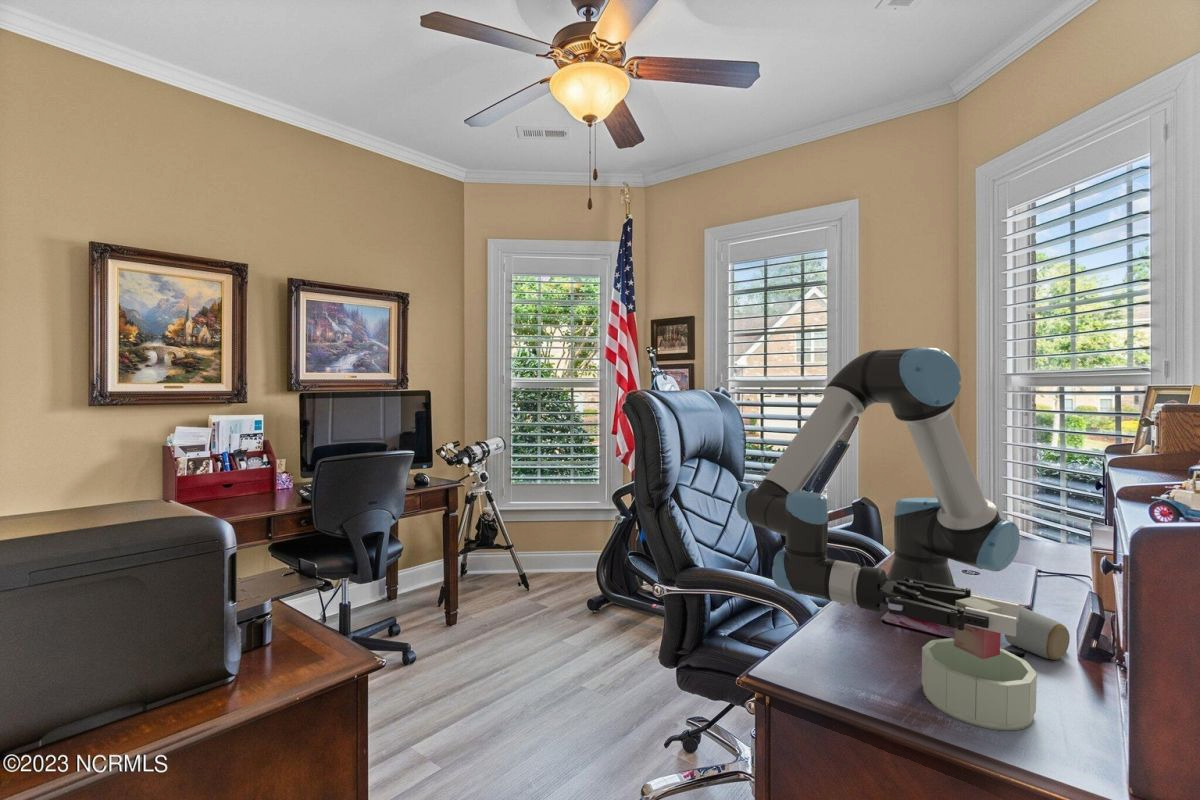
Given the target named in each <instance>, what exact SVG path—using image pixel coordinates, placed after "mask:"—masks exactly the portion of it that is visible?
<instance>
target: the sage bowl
mask: <svg viewBox="0 0 1200 800" xmlns="http://www.w3.org/2000/svg"><path fill="white" fill-rule="evenodd" d="M1037 676H1038V675H1037V672H1036V671H1035V669H1034V668H1033V667H1032V666H1031V665H1030V663H1029V662H1028V661H1027V660H1025V659H1024V658H1022V657H1019V656H1017V655H1016V654H1014V653H1011V651H1010V652H1009V651H1008V650H1006V649H1003V648H1000V655H997V656H994V657H990V658H986V659H981V658H979V657H976V656H974V655H972V654H970V653H968V652H966V651H964V650H961V649H959V648H957V647H955V646H954V638H951V637H950V638H939V639H931V640H930V641H928V642H926V643H925V645H923V646H922V648H921V684H922V692H923V695H924V697H925V696H926V697H925V698H926V700H927V699H928V700H929V701H930V702H931V703H932V704H933V705H932V704H931V703H930V702H929V701H928V700H927V701H928V702H929V703H930V704H931V705H932V706H934V707H935V708H936V709H938V710H939V711H941V712H943V713H944V714H946V715H948V716H949V717H951V718H954V719H957V720H958V721H961V722H963V723H967V724H970V725H973V726H976V727H980V728H984V729H989V730H995V731H996V730H997V731H1010V732H1011V731H1012V732H1013V731H1019V730H1023V729H1026V728H1028V727H1031V725H1032V724H1033V723H1034V716H1035V714H1036V712H1037V683H1038V682H1037V680H1038V679H1037V678H1038V677H1037Z"/></svg>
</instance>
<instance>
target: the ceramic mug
mask: <svg viewBox="0 0 1200 800" xmlns="http://www.w3.org/2000/svg"><path fill="white" fill-rule="evenodd" d="M1003 636H1004V638H1005V640H1006V642H1007V644H1010V645H1012V646H1014V647H1016V646H1017V647H1016V648H1019V649H1021V648H1022V650H1024V651H1027V652H1028V653H1031V654H1035V655H1036V656H1040V657H1042V658H1044V659H1048V660H1051V661H1056V660H1060V659H1061V658H1063V657H1064V656H1065V654H1066V652H1067V651H1068V648H1069V645H1070V639H1071V637H1070V632H1069V630H1068V628H1067V627H1066V626H1065V625H1064V624H1063V623H1060V622H1059V621H1057V620H1055V619H1052V618H1051V617H1047V616H1045V615H1042V614H1040V613H1037V612H1035V611H1033V610H1031V609H1028V608H1025V607H1023V606H1019V617H1018V622H1016V637H1015V636H1011V635H1006V634H1003Z"/></svg>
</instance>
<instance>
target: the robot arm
mask: <svg viewBox="0 0 1200 800" xmlns="http://www.w3.org/2000/svg"><path fill="white" fill-rule="evenodd" d="M961 381H962V376H961V372H960V368H959V366H958V363H957V362H956V361H955V359H954V358H953V357H952V356H951V354H949V353H948V352H947V351H945V350H943V349H940V348H936V347H923V346H921V347H920V346H917V347H912V348H900V349H899V348H897V349H876V350H870V351H867V352H864V353H862V354H861V355H859V356H856V357H855V358H854V359H852V360H851V361H849V362H848V363H847V364H846V365H845V366H844V367H843V368H841V370H840V371H838V373H836V375H835V376H834V377H833V378H832V379H831V380H830V381H829V383H828V384H827V385H826V387H825V388H824V389H823V391H822V394H823V398H822V399H821V401H820V402H819V403H818V405H817V406H816V407H815V409H814V410H813V412H812V413H811V415H809V417H808V418H807V420H806V421H805V422H804V424H803V425H802V427H801V428H800V430H799V431H798V432H797V434H796V435H794V437H793V438H792V440H791V442H790V443H789V444H788V446H787V447H786V448H785V450H784V451H783V452H782V454H781V455H780V456H779V458H778V459H777V461H775V463H774V464H773V466H772V467H771V468H770V470H769V471H768V473H767V474H766V476H764V478H763V479H762V481H761V482H760V484H758V486H757V487H750V488H746V489H745V490H742V491H741V492H740V494H739V495H738V497H737V500H736V510H737V513H738V515H739V517H740V518H741V519H742V520H744V521H745V522H748V523H750V524H752V525H753V526H754V527H760V528H763V529H764V530H765V529H766V530H769V531H770V532H774V533H777V534H778V535H781V536H784V537H785V549H781V550H779V551H778V552H777V553H776V554H775V556H774V559H773V565H772V567H771V568H772V569H771V572H772V573H771V574H772V580H773V582H774V584H775V585H776V586H777V588H779V589H783V590H785V591H789V592H792V593H794V594H797V595H804V596H808V597H813V598H818V599H821V600H827V601H830V602H835V603H840V604H839V605H840V606H841V607H845V606H846V605H847V606H851V607H855V606H857V605H858V607H859V608H860V609H863V610H867V611H871V612H876V613H880V612H882V611H883V609H884V608H885V605H886V606H887V608H888V609H887V613H889V614H891V615H897V616H904V617H908V618H912V619H915V620H916V619H917V620H919V621H924V622H927V623H932V624H934V625H935V624H936V625H939V626H942V627H943V626H944V627H947V628H951V629H955V628H957V625H958V630H964V623H965V625H967V626H971V627H976V628H980V629H984V630H989V631H993V632H997V633H1001V635H1002V634H1003V635H1004V634H1006V635H1011V636H1015V637H1016V622H1018V617H1019V607H1020V604H1019V603H1015V602H1010V601H1005V600H1000V599H995V598H990V597H984V596H979V595H976V594H971V593H972V590H971V588H968V587H966V588H964V587H963V588H962V587H957V586H956V584H955V582H954V579H953V574H952V571H951V568H950V566H949V560H952V561H955V562H958V563H961V564H963V565H967V566H969V567H974V568H976V569H979V570H987V571H990V572H1001V571H1003V570H1005V569H1006V568H1007V567H1009V566H1010V565H1011V564H1012V563H1013V561H1014V560H1015V557H1016V556H1017V554H1018V550H1019V547H1020V543H1021V533H1020V529H1019V527H1018V526H1017V524H1016V523H1015V522H1014V521H1012V520H1010V519H1008V518H1007V519H1006V518H1005V519H1003V518H1002V517H1001V516H1000V514H999V512H998V509H997V506H996V505H995V503H994V502H992V501H991V500H990V499H987V498H985V496H984V494H983V492H982V489H981V487H980V484H979V481H978V479H977V476H976V473H975V471H974V468H973V466H972V464H971V463H972V462H971V459H970V457H969V455H968V452H967V450H966V447H965V445H964V442H963V440H962V437H961V434H960V431H959V429H958V426H957V424H956V422H955V418H954V416H953V413H952V410H953V407H955V404H956V401H957V400H956V399H957V398H958V395H959V394H960V390H961V387H962V385H961V384H960V382H961ZM876 403H877V404H879V403H881V404H889V405H890V406H891V409H892V412H893V414H894V416H895V418H896V419H897V420H898V421H900V422H903V423H906V426H907V429H908V431H909V432H910V435H911V438H912V440H913V442H914V445H915V448H916V449H917V452H918V455H919V458H920V460H921V462H922V465H923V467H924V469H925V472H926V475H927V478H928V479H929V483H930V485H931V486H932V489H933V491H934V494H935V496H936V497H908V498H907V497H906V498H900V499H899V500H898V501H897V502H896V503H895V509H894V514H893V519H894V525H893V527H894V529H893V532H894V534H893V535H894V539H893V540H894V542H893V543H894V546H893V548H894V549H893V551H894V554H893V559H892V561H891V564H890V568H889V570H888V571H889V572H888V573H886V571H885V570H884V569H882V568H878V567H873V566H868V565H864V566H861V565H860V564H859V563H854V562H850V561H849V562H848V561H843V560H836V559H832V558H828V534H829V533H828V532H829V531H828V530H829V529H828V528H829V514H828V510H829V509H828V499H827V498H826V497H825V496H824V494H821V493H818V492H814V491H813V492H812V491H811V492H810V491H806V490H802V489H803V488H804V487H805V486H806V484H807V482H808V481H809V479H810V478H811V477H812V476H813V474H814V472H815V471H816V470H817V468H818V467H819V466H820V464H821V463H822V462H823V460H824V459H825V457H826V456H827V455H828V453H829V452H830V451H831V449H832V448H833V446H834V445H835V444H836V442H837V441H838V440H839V438H840V437H841V435H842V434H843V432H844V431H845V430H846V429H847V427H848V426H849V424H850V423H851V422H852V420H853V419H854V417H859V416H861V415H862V414H863V413H864V412H865V411H866V409H867V408H868V407H870V406H872V405H873V404H876ZM801 490H802V491H801ZM969 597H974V598H977V599H979V600H982V601H986V602H988V603H990V604H993V605H996V606H998V607H1001V608H1002V613H1001V614H998V613H993V612H988V611H983V610H979V609H974V608H969V607H966V608H965V612H964V609H962V608H959V607H956V606H955V604H956V600H960V599H964V598H969Z"/></svg>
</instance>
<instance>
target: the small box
mask: <svg viewBox="0 0 1200 800" xmlns="http://www.w3.org/2000/svg"><path fill="white" fill-rule="evenodd" d="M955 606H956V607H959V608H962V609H964V612H965V608H966V607H969V608H974V609H979V610H983V611H988V612H993V613H998V614H1001V613H1002V608H1001V607H998V606H996V605H993V604H990V603H988V602H986V601H982V600H979V599H977V598H974V597H969V598H964V599H960V600H956V604H955ZM953 632H954V636H953V637H954V638H953V639H954V646H955V647H957V648H959V649H961V650H964V651H966V652H968V653H970V654H972V655H974V656H976V657H979V658H981V659H986V658H990V657H994V656H997V655H1000V649H1001V638H1002V637H1001V635H1002V633H997V632H993V631H989V630H984V629H980V628H976V627H971V626H967V625H965V623H964V630H958V625H957V628H954V631H953Z"/></svg>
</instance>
